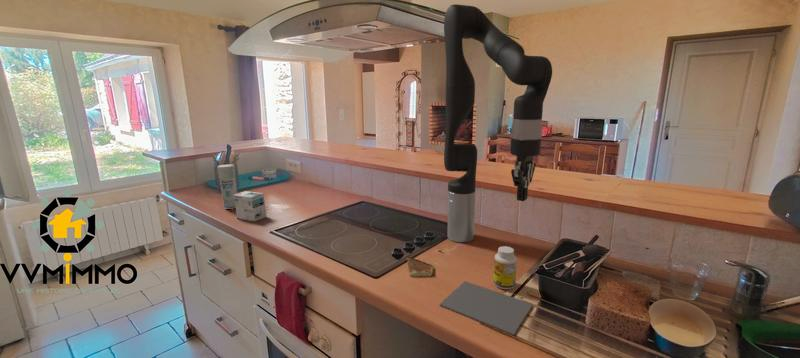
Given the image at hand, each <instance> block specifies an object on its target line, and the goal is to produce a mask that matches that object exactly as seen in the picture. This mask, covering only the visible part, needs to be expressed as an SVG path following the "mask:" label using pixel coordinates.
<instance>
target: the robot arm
mask: <svg viewBox="0 0 800 358" xmlns="http://www.w3.org/2000/svg"><path fill="white" fill-rule="evenodd" d="M443 33H444V36H443V37H444V47H445V48H444V49H445V64H446V65H445V69H446V70H445V73H446V74H445V76H446V77H445V78H446V79H445V136H444V137H445V138H444V151H443V153H444V154H443V163H444V164H443V165H444V168H445V170H446V171H447V172H466V173H465V174H464V175H462V176H460V177H457V178H455V179H453V180H450V181H449V182H448V184H447V239H448V240H450V241H452V242H455V243H468V242H471V241H473V240H474V238H475V222H476V221H475V219H476V218H475V217H476V216H475V214H476V180H477V179H476V177H477V168H478V167H477V165H478V148H477V146H476V145H475V144H474V143H455V141H456V140H455V139H456V137H457V134H458V132H459V130H460V128H461V127H462V124H463V122H464V121H465V119H467V117H468V116H469V114H470V113H471V111H472V109H473V106H474V105H475V101H476V100H475V99H476V82H475V78H474V76H473V73H472V71H471V69H470V66H469V65H468V62H467V61H466V58H465V55H464V51H463V49H464V48H463V39H473V40H476V41H478V42H479V43H481V44H483V48H484V52H485V54H486V55H487V56H488V57H489V58H490V59H491V60H492V61H493V62H494V63H495V64H496V65H498V66H499V67H501V69H502V70H503V72H504V73H505V75H506V77H507V79H508V80H509V81H510V82H512V83H514V84H515V85H518V86H526V89H525V92H524V93H523V94H522V95H518V96H516V98H515V99H514V101H513V102H514V103H513V114H512V116H513V119H512V123H511V124H512V125H511V132H510V149H509V150H510V151H509V153H510V154H511V155H512V156H513V155H514V156H515V157H516V159H515V161H514V168H513V169H511V170H510V173H511V178H512V181H513V186H514V187H517V189H516V193H517V194H516V200H517V201H519V202H525V201H526V200H527V199H528V193H529V192H528V191H529V187H530V183H532V181H533V176H534V174H535V173H534V172H535V169H536V165H537V163H536V162H535V161H534V157H536V156H537V157H538V156H539V155H541V151H542V149H541V148H542V136H543V110H544V101H545V98H546V96H547V94H548V90H549V87H550V83H551V81H552V77H553V66H552V63H551V61H550V59H549V58H547V57H546V56H542V55H540V56H539V55H527V54H525V49H524V47H523V46H522V45H521V44H520V43H519V42H517V41H516V40H514V39H513V38H511V37H510V36H508V35H507V34H506V33H504V32H503V31H501V30H500V29H499V28H498V27H497V26H496V25H495V24H494V23H493V22H492V21H491V20H490V18H488V17H487V16H486V14H485V13H484V12H483V11H482V10H481V9H480V8H478V7H476V6H473V5H465V4H456V3H455V4H451V5H449V7H448V8H447V10H446V11H445V14H444V19H443Z"/></svg>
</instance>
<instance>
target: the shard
mask: <svg viewBox="0 0 800 358" xmlns="http://www.w3.org/2000/svg"><path fill="white" fill-rule="evenodd" d="M406 259H407V269H408V273H409V277H411V278H413V277H415V278H416V277H431V276H432V275H433V273H434V271H433V270H434V269H435V266H434V265H433V264H430V263H427V262H426V261H422V260H419V259H416V258H414V257H410V256H409V255H408V256H406Z"/></svg>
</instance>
